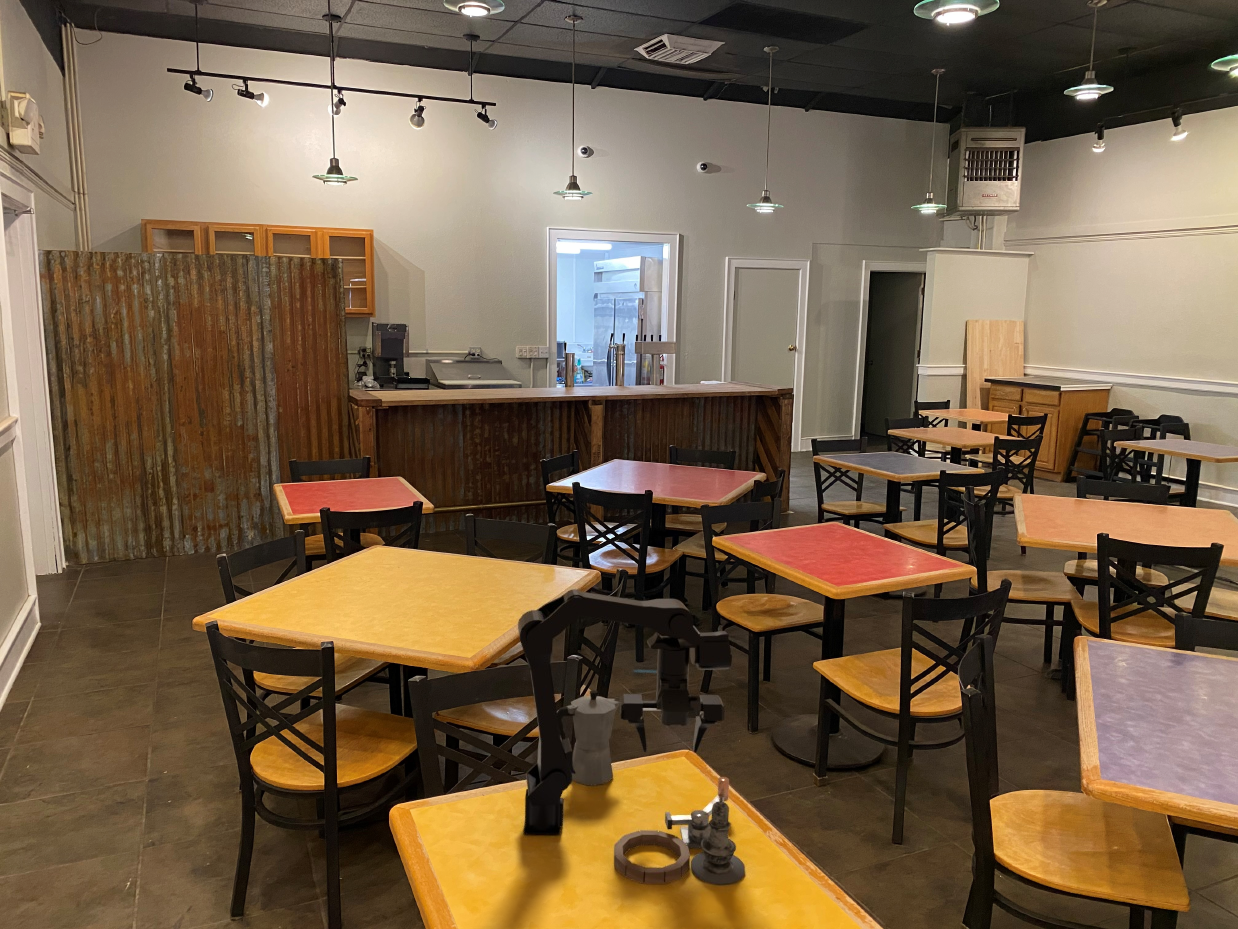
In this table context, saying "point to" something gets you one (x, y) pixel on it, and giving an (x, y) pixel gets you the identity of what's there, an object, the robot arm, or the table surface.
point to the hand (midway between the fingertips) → (669, 751)
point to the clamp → (700, 817)
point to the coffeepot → (591, 737)
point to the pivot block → (694, 836)
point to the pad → (717, 879)
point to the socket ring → (651, 873)
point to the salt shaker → (718, 842)
